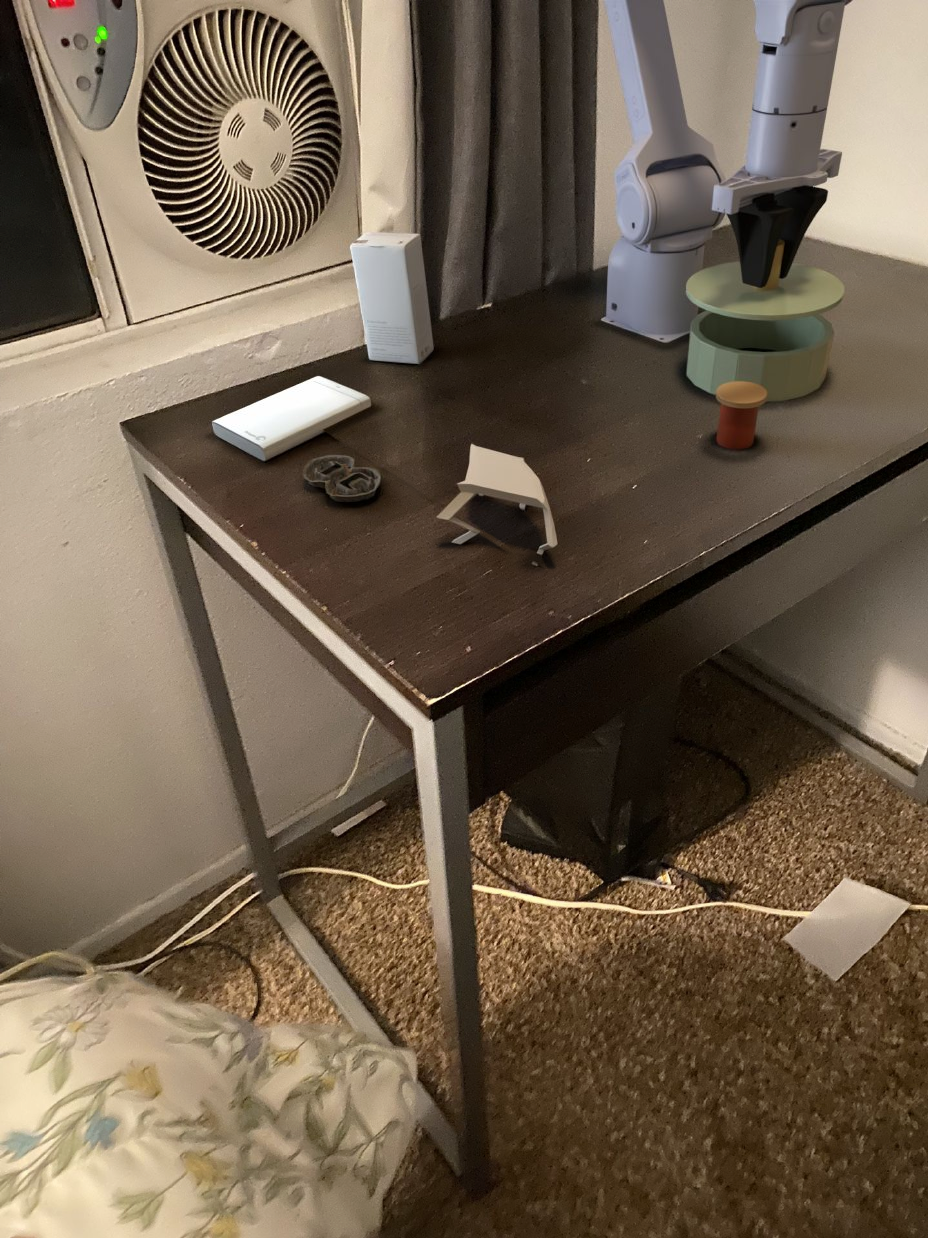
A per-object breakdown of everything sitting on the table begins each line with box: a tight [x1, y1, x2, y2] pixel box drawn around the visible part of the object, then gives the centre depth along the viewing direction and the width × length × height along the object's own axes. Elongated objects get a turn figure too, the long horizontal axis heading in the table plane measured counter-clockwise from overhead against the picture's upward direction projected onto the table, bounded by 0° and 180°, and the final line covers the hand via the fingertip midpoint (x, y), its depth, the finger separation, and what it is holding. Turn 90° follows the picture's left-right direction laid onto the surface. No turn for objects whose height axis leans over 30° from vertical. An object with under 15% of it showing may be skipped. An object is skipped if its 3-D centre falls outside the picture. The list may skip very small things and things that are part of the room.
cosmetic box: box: [349, 231, 435, 365], centre depth 92 cm, size 6×4×12 cm
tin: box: [686, 310, 835, 403], centre depth 85 cm, size 13×13×5 cm
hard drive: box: [211, 375, 372, 462], centre depth 85 cm, size 2×8×12 cm
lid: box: [686, 239, 846, 320], centre depth 80 cm, size 14×14×5 cm
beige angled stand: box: [435, 443, 558, 567], centre depth 67 cm, size 12×8×5 cm
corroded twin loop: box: [302, 454, 382, 503], centre depth 75 cm, size 5×8×1 cm, turn 45°
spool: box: [715, 381, 767, 450], centre depth 75 cm, size 4×4×5 cm
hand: (764, 279), depth 80 cm, fingers closed on lid, 2 cm apart
